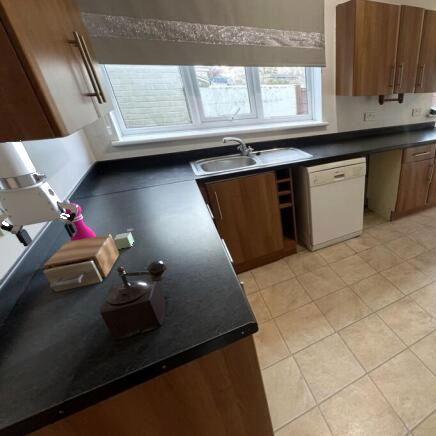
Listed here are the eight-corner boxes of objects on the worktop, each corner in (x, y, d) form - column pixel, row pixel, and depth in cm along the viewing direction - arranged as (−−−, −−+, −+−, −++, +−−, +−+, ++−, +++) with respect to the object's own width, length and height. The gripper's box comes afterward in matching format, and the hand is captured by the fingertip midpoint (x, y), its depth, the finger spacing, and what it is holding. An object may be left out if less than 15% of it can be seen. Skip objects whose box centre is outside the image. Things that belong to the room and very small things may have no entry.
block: (117, 249, 103) (113, 239, 101) (121, 244, 107) (117, 234, 105) (131, 247, 104) (127, 237, 102) (134, 241, 108) (130, 232, 106)
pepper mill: (99, 240, 110) (78, 194, 101) (100, 247, 105) (78, 200, 96) (76, 247, 106) (52, 199, 97) (76, 254, 101) (50, 205, 92)
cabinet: (107, 280, 86) (95, 255, 82) (58, 291, 82) (43, 265, 78) (120, 257, 98) (110, 234, 94) (78, 265, 94) (66, 241, 90)
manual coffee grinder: (111, 343, 64) (79, 283, 56) (123, 312, 73) (96, 256, 65) (183, 322, 69) (163, 265, 61) (186, 295, 78) (168, 242, 70)
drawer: (96, 292, 79) (84, 271, 76) (47, 303, 76) (33, 281, 72) (115, 260, 95) (106, 241, 91) (75, 267, 91) (65, 248, 88)
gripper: (67, 172, 75) (92, 226, 82) (-21, 183, 68) (16, 241, 75) (58, 179, 69) (86, 237, 76) (-39, 192, 62) (2, 254, 69)
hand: (51, 239), depth 76 cm, fingers open, 9 cm apart
